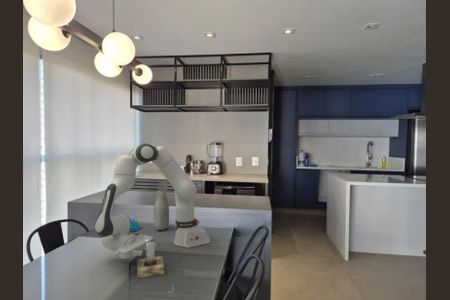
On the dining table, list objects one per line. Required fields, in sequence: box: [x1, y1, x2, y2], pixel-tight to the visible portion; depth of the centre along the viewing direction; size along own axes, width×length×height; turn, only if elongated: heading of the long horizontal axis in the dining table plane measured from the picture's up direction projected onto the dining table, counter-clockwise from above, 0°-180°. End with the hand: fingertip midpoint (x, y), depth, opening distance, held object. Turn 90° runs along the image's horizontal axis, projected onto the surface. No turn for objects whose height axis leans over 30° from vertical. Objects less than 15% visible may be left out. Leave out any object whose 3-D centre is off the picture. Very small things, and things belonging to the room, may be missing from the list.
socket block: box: [136, 255, 165, 279], centre depth 125 cm, size 12×12×4 cm
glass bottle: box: [153, 189, 170, 231], centre depth 182 cm, size 10×10×28 cm
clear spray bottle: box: [144, 236, 157, 266], centre depth 125 cm, size 7×4×15 cm, turn 153°
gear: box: [129, 218, 141, 232], centre depth 182 cm, size 11×6×10 cm
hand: (148, 249), depth 125 cm, fingers open, 8 cm apart
